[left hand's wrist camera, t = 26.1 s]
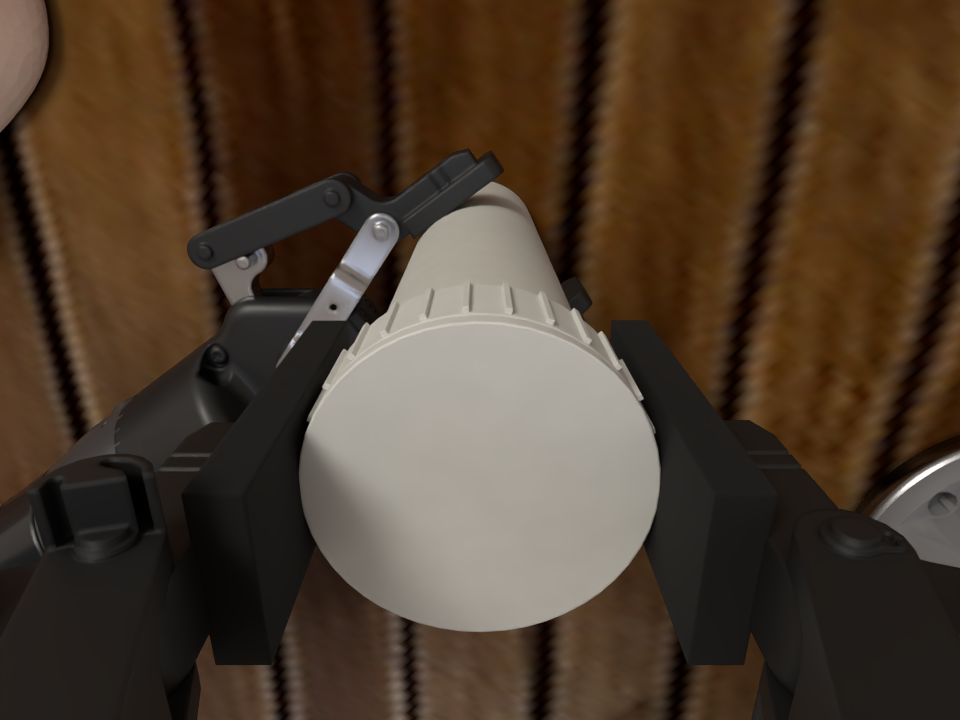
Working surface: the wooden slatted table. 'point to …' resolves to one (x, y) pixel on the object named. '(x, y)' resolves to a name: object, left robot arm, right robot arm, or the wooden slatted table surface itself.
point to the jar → (482, 249)
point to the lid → (479, 461)
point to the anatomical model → (21, 53)
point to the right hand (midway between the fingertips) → (540, 227)
